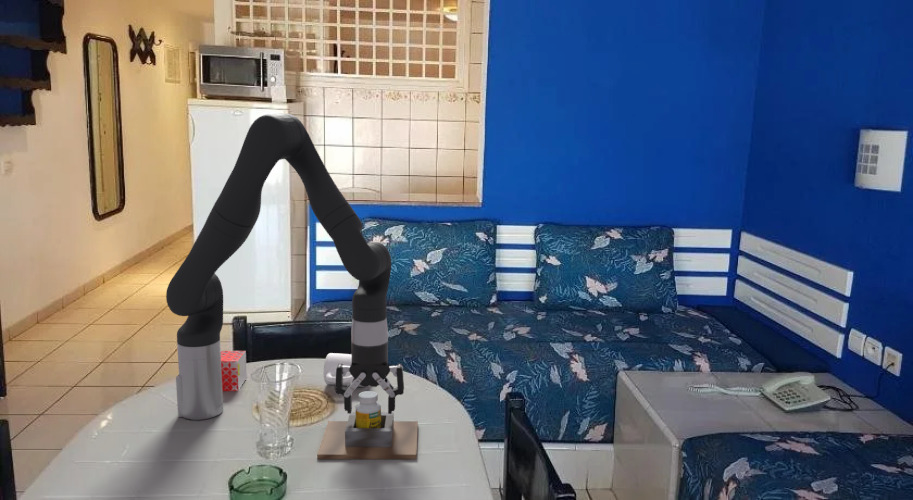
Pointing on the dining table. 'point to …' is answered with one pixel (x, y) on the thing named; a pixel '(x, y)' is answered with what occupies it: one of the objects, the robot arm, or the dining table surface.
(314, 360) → the dining table surface
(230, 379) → the red patterned cube
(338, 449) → the dock socket
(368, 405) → the supplement bottle
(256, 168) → the robot arm
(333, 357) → the mug
